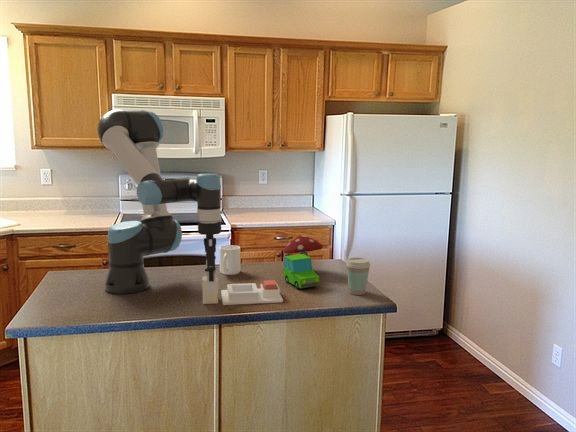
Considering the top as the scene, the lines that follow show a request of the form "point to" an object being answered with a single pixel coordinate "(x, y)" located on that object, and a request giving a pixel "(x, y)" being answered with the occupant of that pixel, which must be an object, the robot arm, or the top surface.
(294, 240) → the decorative mushroom
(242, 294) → the socket plate
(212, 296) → the plug
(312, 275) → the toy car
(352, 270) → the coffee cup
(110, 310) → the top surface
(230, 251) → the mug
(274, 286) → the switch
